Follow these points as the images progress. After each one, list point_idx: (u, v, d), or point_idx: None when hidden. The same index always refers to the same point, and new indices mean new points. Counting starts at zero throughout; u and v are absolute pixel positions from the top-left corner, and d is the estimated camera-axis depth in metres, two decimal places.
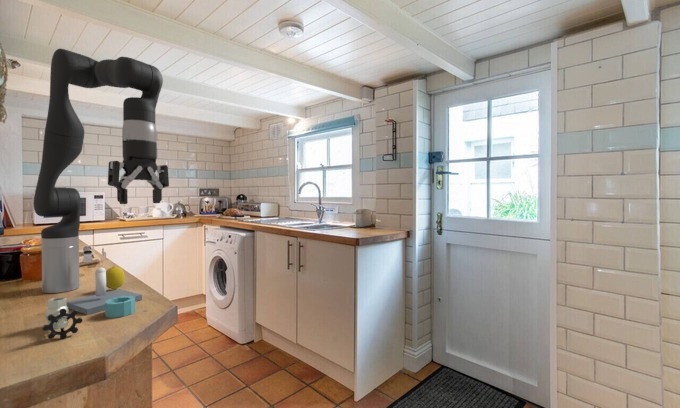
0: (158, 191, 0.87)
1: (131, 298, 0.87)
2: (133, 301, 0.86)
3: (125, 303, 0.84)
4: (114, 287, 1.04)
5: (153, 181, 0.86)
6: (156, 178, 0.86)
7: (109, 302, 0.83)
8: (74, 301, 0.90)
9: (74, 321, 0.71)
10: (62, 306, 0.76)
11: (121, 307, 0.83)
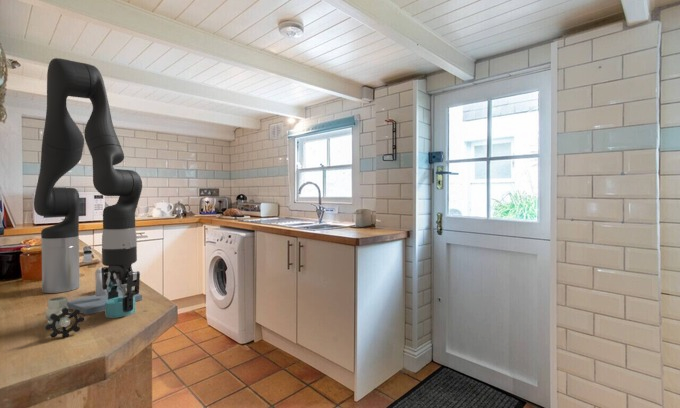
0: (117, 293, 0.88)
1: None
2: (133, 301, 0.86)
3: None
4: None
5: None
6: None
7: (109, 302, 0.83)
8: (74, 301, 0.90)
9: (76, 320, 0.72)
10: (63, 305, 0.77)
11: (121, 307, 0.83)
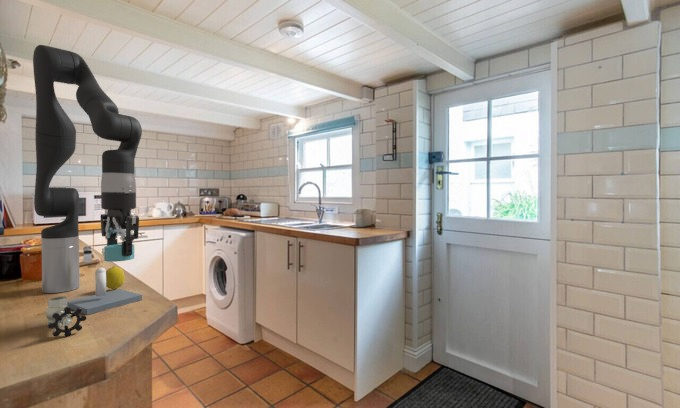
0: (116, 241, 0.88)
1: None
2: (132, 247, 0.86)
3: None
4: (114, 287, 1.04)
5: None
6: None
7: (108, 247, 0.83)
8: (74, 301, 0.90)
9: (78, 319, 0.73)
10: (63, 305, 0.77)
11: (120, 251, 0.83)
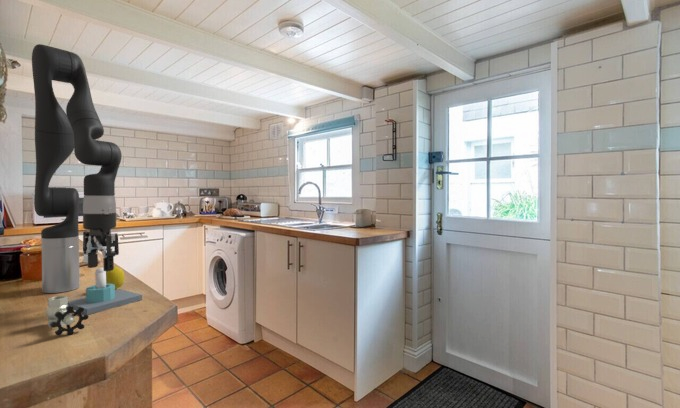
0: (97, 255, 0.95)
1: (111, 285, 0.93)
2: (112, 288, 0.92)
3: (104, 289, 0.90)
4: None
5: None
6: None
7: (90, 288, 0.90)
8: (74, 301, 0.90)
9: (80, 318, 0.74)
10: (63, 304, 0.78)
11: (101, 292, 0.90)
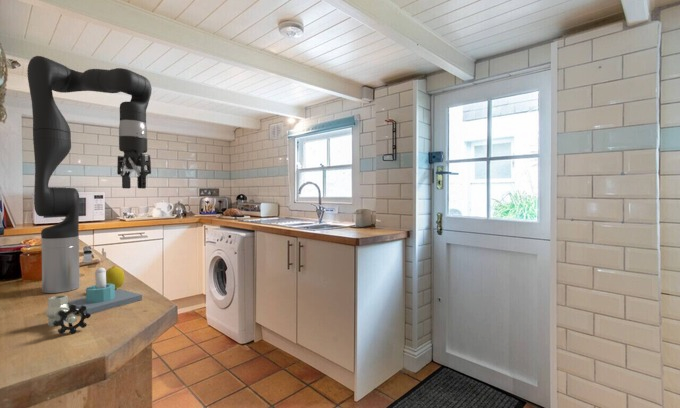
0: (129, 178, 1.05)
1: (111, 285, 0.93)
2: (112, 288, 0.92)
3: (104, 289, 0.90)
4: None
5: (131, 170, 1.04)
6: None
7: (90, 288, 0.90)
8: (74, 301, 0.90)
9: (83, 316, 0.74)
10: (64, 304, 0.78)
11: (101, 292, 0.90)
